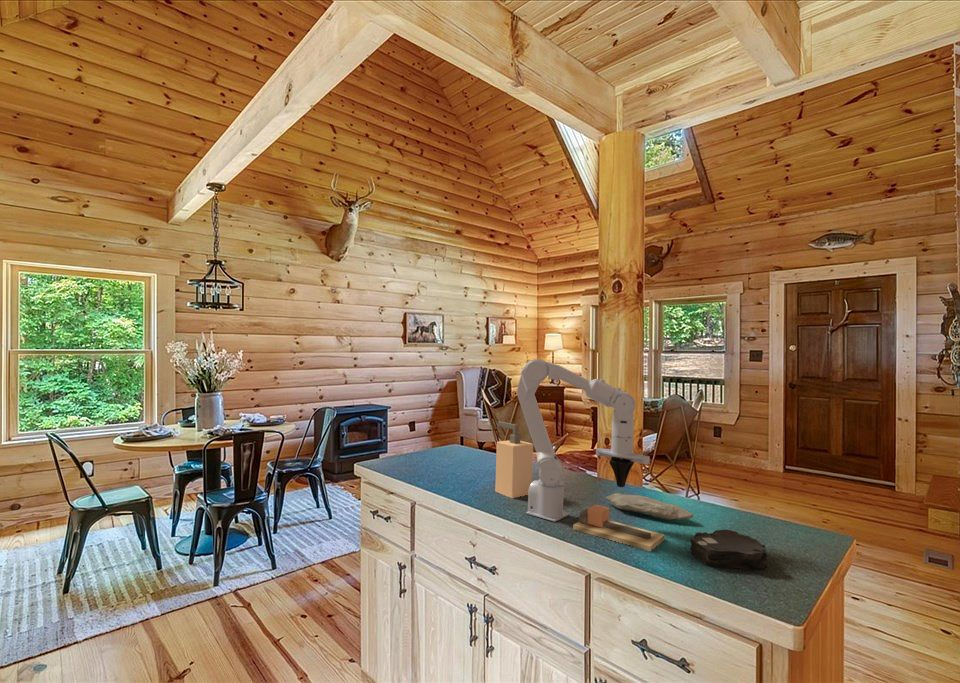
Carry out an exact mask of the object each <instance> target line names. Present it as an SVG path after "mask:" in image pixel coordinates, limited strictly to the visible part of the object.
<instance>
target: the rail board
mask: <svg viewBox="0 0 960 683" xmlns="http://www.w3.org/2000/svg"><path fill="white" fill-rule="evenodd" d="M588 508H589V507H587V508H585V509H583V510H581V511H579V520H578V522H576V523H574V524H573V526H572V529H573V530H574V531H578V532H579V533H580V532H581V533H585V534H588V535H591V536H594V537H597V536H598V537H599V538H602V539H604V538H605V540H608V539H609V541H611V540H612V542H615V541H616V542H615V543H618V542H619V543H620V544H622V543H623V544H622V545H625V544H627V545H626V546H628V545H631V546H630V547H632V546H634V547H633V548H635V547H638V548H637V549H639V548H641V549H640V550H642V549H644V550H643V551H646V550H647V551H646V552H649V551H651V550H652V549H653V550H655V549H656V548H657V547H658V546H659V545H660V544H662V543H663V542H664V541H665V538H666V537H665V534H663V533H659V532H655V531H651V530H649V529H645V528H639V527H636V526H632V525H629V524H624V523H621V522H616V521H614V520H610V519H609V522H607V521H605V522H603V527H598V526H595V525H591V524H587V514H588ZM656 546H657V547H656ZM653 550H652V551H653ZM652 551H651V552H652Z"/></svg>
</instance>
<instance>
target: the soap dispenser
mask: <svg viewBox="0 0 960 683" xmlns="http://www.w3.org/2000/svg"><path fill="white" fill-rule="evenodd" d="M497 427H500V428H506V429H510V430H512V433H511V434H509V440H508V439H507V440H501V441H496V453H495V454H496V457H495V459H496V460H495V462H496V463H495V484H494V485H495V489H494V490H495V493H498V494H501V495H502V496H504V497H505V496H506V497H508V498H511V499H516V498H520V496H521V497H526V496H528V491H529V487H530V484H531V483H532V482H533V469H534V468H533V464H534V463H533V462H534V461H533V460H534V444H533V442H532V443H531V442H527V441H523V440H521V435H520V434H519V433H518V432H519V425H518V424H515V423H510V422H505V421H501V420H499V421H497ZM525 495H526V496H525Z"/></svg>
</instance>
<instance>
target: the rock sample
mask: <svg viewBox="0 0 960 683" xmlns="http://www.w3.org/2000/svg"><path fill="white" fill-rule="evenodd" d="M689 540H690V544H691V545H690V555H691V556H693V557H694V556H695V557H694V558H696V559H697V560H698V559H699V560H700V561H699V560H698V561H699V562H701V563H703V564H704V565H705V566H709V567H715V568H716V567H718V568H729V569H742V570H750V569H756V570H758V569H761V570H762V569H765V568H766V567H768V565H767V564H768V563H767V562H768V556H769V555H768V552H767V549H766V545H764V544H763V543H761V542H760V541H758V540H757V539H755V538H752V537H751V536H749V535H746V534H740V533H739V532H737V531H735V530H731V529H717V530H714V531H713V532H712V533H711V532H710V533H708V532H695V534H694V536H693V537H692V538H690V539H689Z"/></svg>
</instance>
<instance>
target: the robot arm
mask: <svg viewBox="0 0 960 683" xmlns="http://www.w3.org/2000/svg"><path fill="white" fill-rule="evenodd" d="M546 378H547V380H560V381H562V382H564V383H567V384H569V385H571V386H574V387H576V388H578V389H580V390H582V391H584V392H585V394H586V397H587V398H588V399H590V400H593V401H595V402H597V403H599V404H601V405H603V406H605V407H607V408H612V409H613V412H612V418H611V419H612V420H611V442H610V444H611V445H610V446H611V448H610V449H609V448H602V447H597V448H596V449H595V456H597V457H604V458H605V457H606V458H610V460H609V465H610V467H611V469H612V471H613V474H614V477H615V480H616V487H618V488H625V487H626V483H627V479H628V475H629V473H630V471H631V469H632V467H633V465H634V464H635V463H639V464H643V465H645V466H647V465H649V464H650V459H651V458H650V457H651V456H649V455H644V454H641V453H636V452H634V433H635V431H634V430H635V428H634V427H635V420H634V414H635V413H634V412H635V410H636V407H637V404H636V401H635V399H634V397H633V396H632V395H631V394H629V393H628V392H627V391H626V390H625V391H624V390H622V388H621V387H615V386H612V385H611V384H608V383H606V380H605V379H603V378H600V379H598V378H594V379H592V380H589V379H587V378H585V377H583V376H581V375H579V374H577V373H575V372H573V371H571V370H569V369H568V368H565V367H563V366H561V365H559V364H556V363H552V362H550V361H545V360H544V359H541V358H533V359H531V360H529V361H527V363H526V364H525V365H524V367H523V368H522V370H521V371H520V378H519V381H518V386H517V388H516V396H517V399H518V401H519V405H520V407H521V410H522V413H523V417H524V420H525V423H526V426H527V428H528V432H529V435H530V438H531V440H532V444H533V448H534V450H535V452H536V458H537V459H536V460H537V463H538V480H535V479H534V480H532V483H531V484H530V487H529V491H528V495H527V511H526V512H525V513H526V514H527V515H529V516H534V517H537V518H540V519H544V520H548V521H551V522H557V521H560V520H562V519H565V518H566V517H567V516H569V515H570V514H569V513H570V512H565V511H564V490H565V489H564V488H565V486H564V485H565V483H564V481H563V479H562V477H563V471H564V464H563V462H562V461H561V459H560V458H559V457H558V456H557V455H556V451H555V449H554V447H553V445H552V442H551V439H550V437H549V433H548V430H547V427H546V424H545V422H544V419H543V416H542V413H541V409H540V407H539V402H538V401H537V398H536V395H535V394H536V392H537V390H538V388H539V386H540V384H541V383H542V382H543V381H545V379H546Z"/></svg>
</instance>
